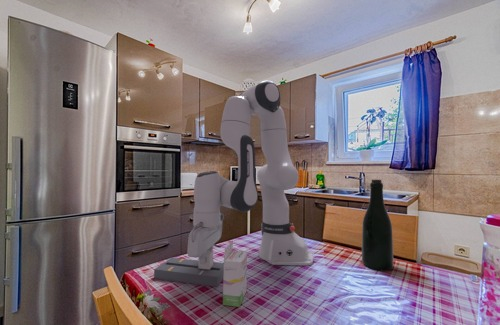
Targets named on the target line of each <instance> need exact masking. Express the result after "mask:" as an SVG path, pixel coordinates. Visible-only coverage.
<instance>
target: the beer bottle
mask: <svg viewBox="0 0 500 325" xmlns="http://www.w3.org/2000/svg"><path fill="white" fill-rule="evenodd" d="M369 187H370V188H369V189H370V193H369V194H370V195H369V202H368V206H367V209H366V210H365V213H364V216H363V220H362V225H361V226H362V228H361V230H362V231H361V236H362V237H361V263H362V264H363V265H364V266H366V267H367V266H368V268H369V267H370V268H369V269H372V268H373V270H376V271H381V270H383V271H386V270H388V271H391V270H393V268H394V243H393V242H394V239H393V238H394V236H393V225H392V220H391V218H390V216H389V213H388V211H387V209H386V206H385V200H384V183H383V182H382V180H381V179H377V178H376V179H371V182H370V184H369ZM383 271H382V272H383Z"/></svg>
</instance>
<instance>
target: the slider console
mask: <svg viewBox="0 0 500 325" xmlns="http://www.w3.org/2000/svg"><path fill="white" fill-rule="evenodd" d="M198 260H199V259H197V260H196V259H187V258H178V257H170V258H169V259H167V260H166V261H164V262H163V263H161V264H160V265H159V266H157V267H156V268H154V270H153V272H154V273H153V279H155V280H160V281H161V280H162V281H163V280H164V281H168V282H176V283H183V284H185V283H186V284H192V285H199V286H207V287H215V288H218V286H219V285H220V284H221V282H222V281H223V276H224V262H215V261H213V266H212V268H211V269H210V270H208V269H200V268H198Z"/></svg>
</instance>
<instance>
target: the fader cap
mask: <svg viewBox="0 0 500 325" xmlns="http://www.w3.org/2000/svg"><path fill="white" fill-rule="evenodd" d="M205 257H207V262H206V263H205V264H200V258H199V257H198V259H197V260H198V268H200V269H208V270H210V269H211V268H212V266H213V262H214V250H212V251H209V250H206V254H205Z"/></svg>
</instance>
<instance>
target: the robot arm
mask: <svg viewBox="0 0 500 325" xmlns="http://www.w3.org/2000/svg"><path fill="white" fill-rule="evenodd" d="M280 92H281V91H280V89H279V87H278V85H277V84H276V83H275V82H274V81H272V80H263V81H260V82H259V83H256V84H253V85H252V86H250V87H249V88H248V89H246V90H245V91H244V92H242V93H240V94H239V95H232V96H230V97H229V98H227V100H226V102H225V104H224V108H223V112H222V116H221V122H220V130H219V131H220V132H219V133H220V139H221V141H222V142H223V144H224V145H225V146H226V147H228V148H230V149H232V150H233V151H234V152H235V154H236V155H237V160H238V161H237V162H238V163H237V169H238V170H237V171H238V172H237V173H238V174H237V180H229V179H228V178H226V177H224V176H222V175H221V174H220V173H219V172H218V171H216V170H215V171H214V170H210V171H203V172H200V173H198V174H197V175H196V177H195V180H194V187H193V200H194V206H193V207H194V208H193V215H192V216H193V219H192V226H193V227H192V230H191V231H190V232H189V234H188V240H187V248H186V249H187V256H188V257H189V258H195V259H197V258H198V259H199V258H200V264H205V263H206V262H207V257H205V254H206V250H209V251H214V250H213V249H214V244H216V243H217V242H219V240H220V239H221V237H222V234H223V233H222V232H223V220H224V213H221V207H225V208H228V209H232V210H236V211H238V212H241V213H247V212H248V213H249V212H250V211H251V210H252V209H254V207H255V206H256V204H257V203H258V199H259V191H258V188H257V187H258V186H257V181H256V180H258V183H259V187H260V193H261V199H262V200H261V201H262V221H261V227H260V230H261V233H260V234H261V242H260V246H259V252H258V257H259V258H260V259H261V260H263V261H266V262H268V263H269V264H270V265H271V266H272V265H273V266H311V265H312V264H314V256H313V253H312V252H310V250H308V245H307V243H306V241H305V240H304V238H302V237H301V236H299V235H298V234H297V233H296V232H295V230H296V228H295V225H294V223H292V222H290V204H289V201H288V199H287V197H286V193H285V191H288V190H290V189H293V188H295V187H296V186H297V184H298V182H299V181H300V180H299V179H300V176H299V172H298V169H297V168H296V167H295V166H294V164H293V161H292V158H291V156H290V151H289V146H288V130H287V122H286V117H285V112H284V109H283V108H282V107H281V106H280V105H281V94H280ZM253 116H257V117H258V118H259V121H260V140H261V141H260V142H261V144H260V145H261V151H262V152H263V155H264V157H265V161H266V164H264V165H263V166H261V167H260V168H259V169H258V170H257V173H256V150H255V149H256V147H255V142H254V140H253V138H251V119H252V117H253ZM256 175H257V177H256ZM256 178H257V179H256Z"/></svg>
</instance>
